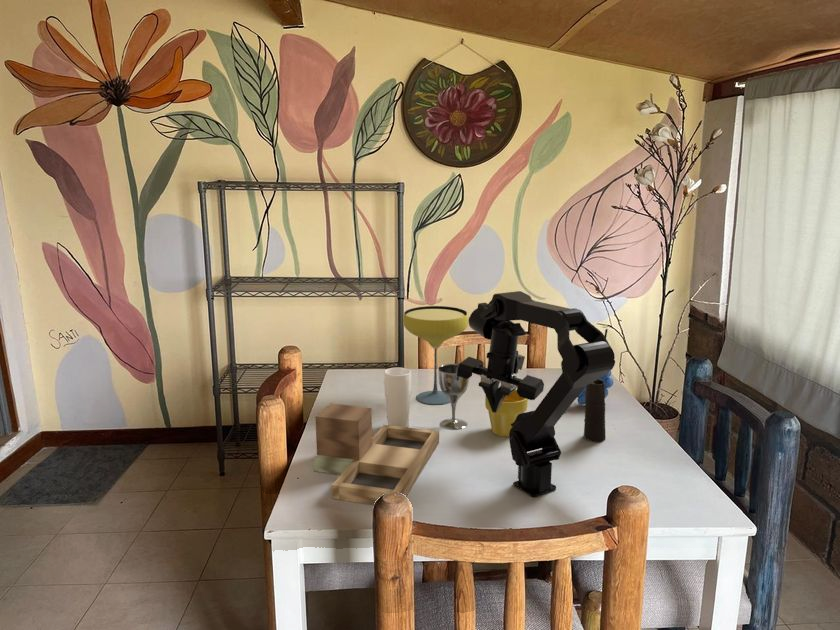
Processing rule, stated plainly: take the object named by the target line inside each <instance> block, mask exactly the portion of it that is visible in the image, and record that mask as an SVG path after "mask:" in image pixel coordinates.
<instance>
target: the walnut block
mask: <svg viewBox="0 0 840 630" xmlns="http://www.w3.org/2000/svg"><path fill="white" fill-rule="evenodd" d="M372 410H373V408H372V407H367V406H355V405H347V404H338V403H329V404H327V406H325V408H323V409H322V410H320V411H319V413H318V414H316V415H315V416H314V417H315V437H316V438H315V439H316V456H317V455H323V456H331V457H338V458H346V459H353V460H360V459H361V458H362V457H363V456H364V454H365V453H366V452H367V451H368V450H369V448H370V447H371V446H372V438H373V421H372V420H373V417H372V415H373V413H372V412H373V411H372Z"/></svg>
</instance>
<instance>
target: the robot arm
mask: <svg viewBox="0 0 840 630" xmlns="http://www.w3.org/2000/svg"><path fill="white" fill-rule="evenodd" d="M513 321H524V322H526V323H531V324H535V325H538V326H542V327H545V328H549V329H553V330H554V331H555V333H556V335H557V351H558V353H559V355H560V357H561V362H560V367H561V374H560V375H559V377H558V378H557V380H556V381H555V382H554V384H553V385H552V386H551V387H550V388H549V391H548V392H547V393H546V395H544V397H543V398H542V400H541V401H540V402H539V404H538V405H537V407H536V408H535V410H534V409H533V410H530V411H525V412H524V413H521V414H519V415H518V416H517V417H516V419H515V421H514V422H513V423H512V424H511V426H512V428H511V429H510V433H509V437H508V441H509V447H510V452H511V459H512V461H514V462H515V465H516V466H518V467H517V470H518V471H517V479H518V480H516V481H514V482H513V483H512V485H513V486H515V488H517V489H519V490H520V491H522V492H524V493H525V494H527V495H528V496H530V497H533V498H535V497H539V496H541V495H544V494H546V493H549V492H551V491H554V490H557V486H556V485H555V484H553V483H552V470H553V464H552V461H558V460H560V458H561V454H562V451H561V449H560V446H559V445H558V442H557V440H556V438H555V435H556V429H555V426H556V424H557V423H558V422H559V421H560V419H561V418H562V417H563V416H564V414H565V413H566V412H567V411H568V409H569V408H570V407H571V406H572V405H573V403H574V402H575V400H576V399H578V398H577V397H578V395H579V394H580V393H581V392H582V390H583V389H584V388H585V387H586V386H587V385H588V384H590V383H592V382H594V381H596V380H598V379H600V378H601V377H603V376H604V375H605V374H607V373H608V372H609V371H611V372H612V370H613V368H614V367H615V365H616V360H615V358H616V357H615V352H614V349H613V348H612V347H611V345H610V343H609V342H608V340H607V337H606V338H605V336H604V335H605V334H604V333H603V332H602V331H601V330H600V329H599V328H597V327H596V326H594V325H593V323H591V322H590V321H589V320H588V319H587V318H586V316H585V314H584V312H583V311H582V310H581V309H577V308H575V307H574V308H568V307H565V306H560V305H555V304H551V303H546V302H541V301H537V300H534V299H532V297H531V295H529V294H527V293H525V292H524V291H520V290H518V291H517V290H516V291H508V292H499V293H494V294H493V295H492V297H491V300H490V301H489V302H488V303H487V302H481V303H480V302H479V303H477V308H475V309H474V310H473V311H472V312H471V314H470V316H468V326H469V327H470V328H471V330H473V331H475V332H476V333H477V334H479V335H480V336H482V337H483V338H484V339H486V340H490V343H489V351H488V352H487V353H486V359H488V360H487V361H488V362H487V366H486V367H484V361H483V360H481V359H478V358H474V357H472V356H471V357H470V356H467V357H466V358H465V359H464V360H462V361H461V362H459V363H457V364H458V366H457V368H456V375H457V376H459V377H462V378H465V379H468V378H471V377H472V376H473V374H475V375H477V376H479V377H480V381H479V382H478V387H480V388H482V390H483V392H484V395H485V396H486V397H487V399H488V401H489V404H490V407H491V409H492V412H494V413H496V412H497V411H498V409H499V407H500V406H501V404H502V402H503V400H504V398H505V397H506V395H510V394H511V393H512V392H513V391H514V390H515V389H517V393H518V395H519V396H520V397H523V398H526V399H528V401H529V400H530V401H535V400H536V398H538V397H540V394H541V393H543V392H544V389H545V388H544V386H545V383H544V381H543V379H542V378H538V377H535V376H532V375H529V374H526V376H525V377H523V379H522V378H520V377H519V376H516V375H517V374H518V373H519V370H522V369H523V365H524V362H525V359H526V357H525V355H522V354H519V351H518V342H519V337H521V336H525V335H526V331H525V329H524V328H523V327H522V325H521V323H520V322H513ZM571 331H575V332H576V334H578V335H579V336H580V337H581V338H582V339H584V340H585V341H586V342H584V343H579V344H573V342H572V341H571V338H570V332H571ZM514 374H515V375H514Z"/></svg>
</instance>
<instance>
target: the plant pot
mask: <svg viewBox="0 0 840 630" xmlns="http://www.w3.org/2000/svg"><path fill="white" fill-rule="evenodd" d="M484 397H485V403H484V404H485V409H486V410H487V411H488V416H489V423H490V427H491V432H492V433H493V434H495V435H496V436H499V437H506V438H507V437H508V438H509V433H510V429H511V428H512V426H511V424H512V423H513V422H514V421H515V419H516V417H517V416H518V415H519V414H521V413H525V412H527V409H528V401H529V399H526V398H523V397H520V396H519V395H518V393H517V388H516V389H515V390H514V391H513V392H512V393H511V394H510V395H506V397H505V398H504V400H503V402H502V404H501V406H500V407H499V409H498V411H497V412H496V413H494V412H492V409H491V407H490V404H489V401H488V399H487V397H486V395H485V396H484Z"/></svg>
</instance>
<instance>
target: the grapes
mask: <svg viewBox="0 0 840 630" xmlns="http://www.w3.org/2000/svg"><path fill="white" fill-rule="evenodd" d="M611 376H612V370H611V371H609V372H608V373H607V374H605V375H604V376H603V377H601V378H600V379H599V380H602V381H604V382H605V399H606V398H607V397H608V395H609V390H608V389H611V387H613V385H614V379H613V378H612V377H611ZM585 398H586V387H585V388H584V389H583V390H582V392H581V393H580V394H579V395H578V397H577V398H576V399H577V400H576V401H577V404H578V405H580V406H583V405H584V406H585Z"/></svg>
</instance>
